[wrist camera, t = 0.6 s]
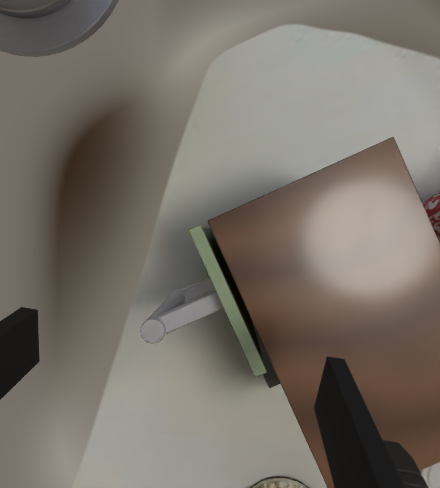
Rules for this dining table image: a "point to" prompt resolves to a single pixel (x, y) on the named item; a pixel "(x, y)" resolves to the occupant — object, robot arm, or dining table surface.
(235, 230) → the wardrobe
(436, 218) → the mug
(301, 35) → the dining table surface
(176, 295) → the sliding door
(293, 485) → the cake
